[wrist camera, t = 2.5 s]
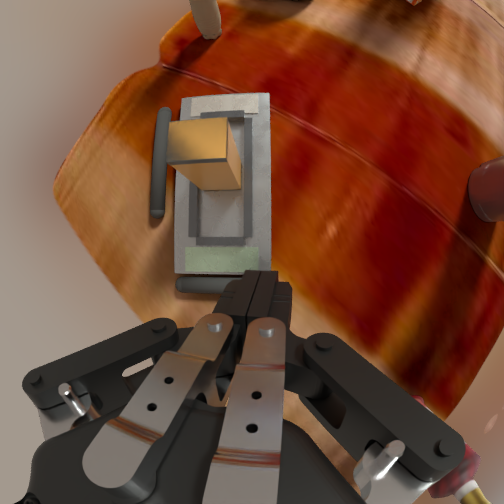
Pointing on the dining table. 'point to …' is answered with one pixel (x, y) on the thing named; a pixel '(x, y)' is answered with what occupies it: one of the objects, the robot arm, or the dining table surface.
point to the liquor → (459, 478)
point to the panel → (228, 195)
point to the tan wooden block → (205, 153)
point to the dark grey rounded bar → (202, 284)
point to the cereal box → (413, 2)
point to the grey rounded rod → (160, 163)
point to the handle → (207, 17)
